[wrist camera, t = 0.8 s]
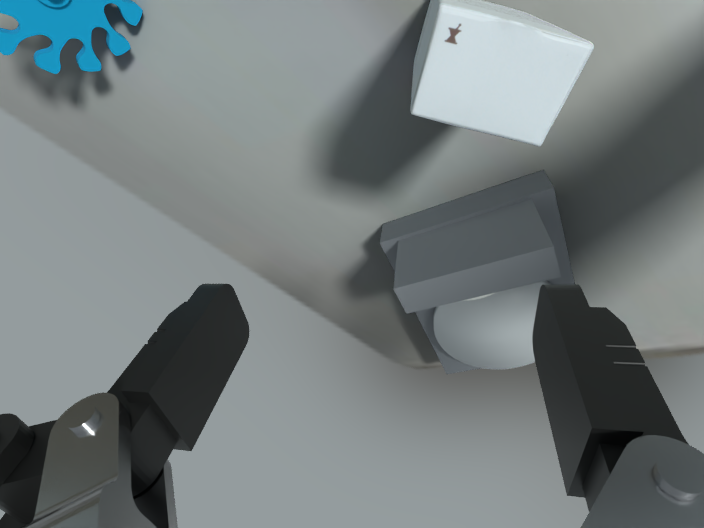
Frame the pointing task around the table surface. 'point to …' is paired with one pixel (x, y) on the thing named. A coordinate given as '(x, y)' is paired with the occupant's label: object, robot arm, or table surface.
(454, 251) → the dial scale
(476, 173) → the table surface
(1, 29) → the gear
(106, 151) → the table surface
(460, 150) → the table surface
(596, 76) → the table surface
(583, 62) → the skincare box
